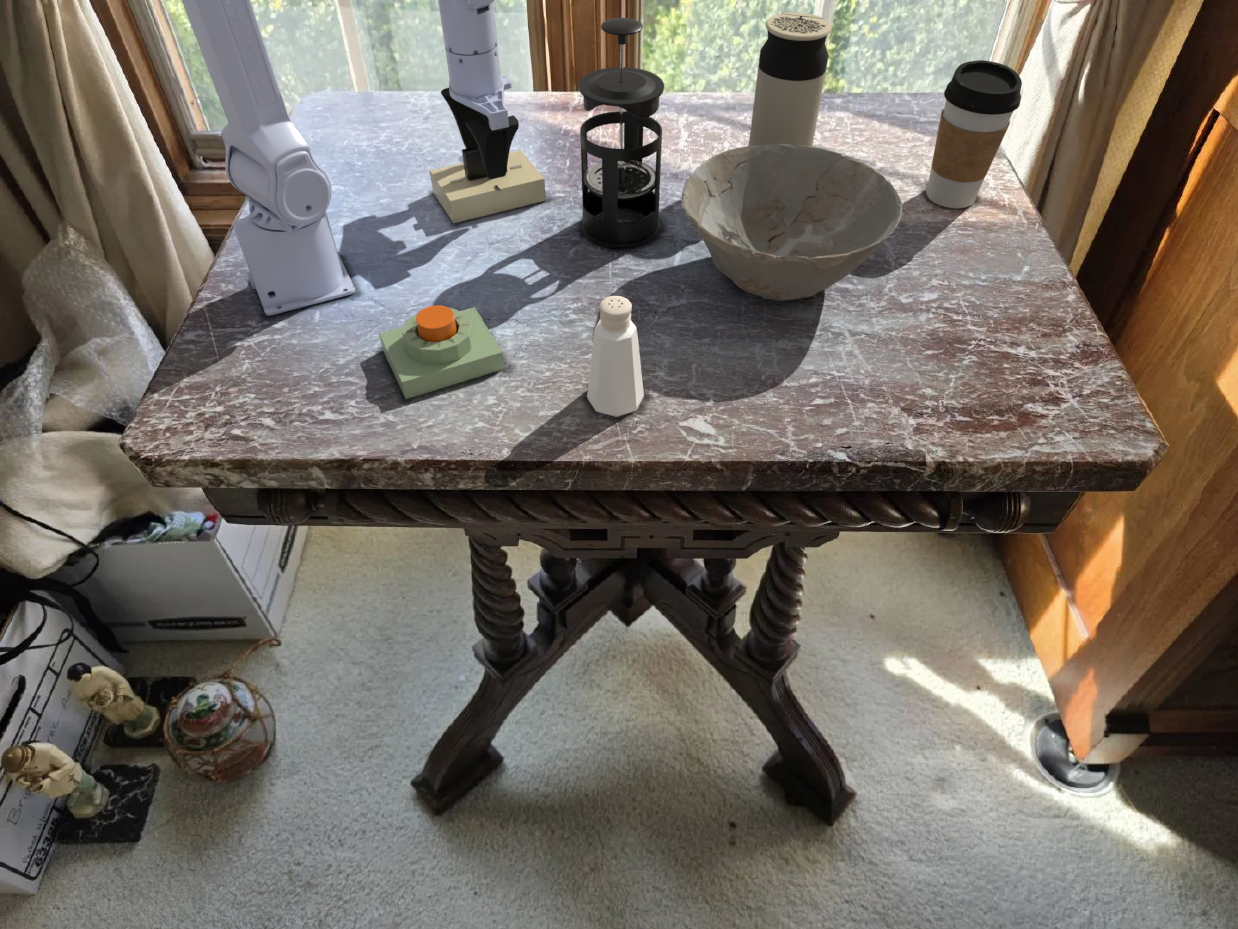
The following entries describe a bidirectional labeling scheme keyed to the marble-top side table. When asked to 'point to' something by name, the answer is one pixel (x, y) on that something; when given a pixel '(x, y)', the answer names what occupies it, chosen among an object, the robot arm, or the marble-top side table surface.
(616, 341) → the salt shaker
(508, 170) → the dial panel
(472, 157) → the knob
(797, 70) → the travel mug
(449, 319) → the button
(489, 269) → the marble-top side table surface
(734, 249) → the ceramic bowl
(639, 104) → the french press
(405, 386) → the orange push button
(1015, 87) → the coffee cup
